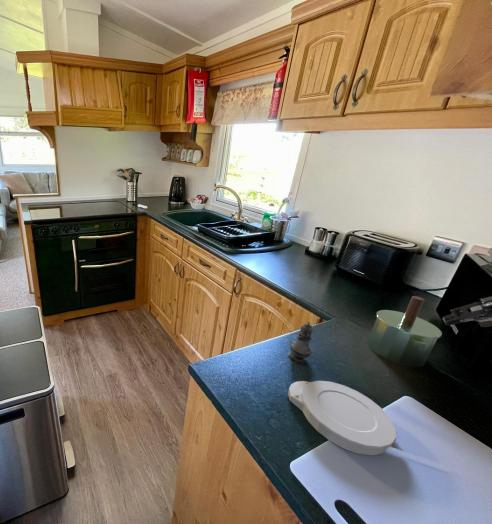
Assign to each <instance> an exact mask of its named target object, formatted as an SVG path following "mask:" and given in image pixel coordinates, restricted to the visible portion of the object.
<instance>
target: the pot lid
mask: <svg viewBox="0 0 492 524" xmlns="http://www.w3.org/2000/svg"><path fill="white" fill-rule="evenodd" d="M424 302H425V298H423V297H420V296H416V295H413V296H412V297H411V299H410V301H409V303H408V305H407V307H406V310H405V312H401V311H398V310H391V309H390V310H389V309H381V310H378V311H377V312H376V314H375V317H376V319H377V318H378V319H379V320H380V321H381V322H383V323H384V324H386V325H388V326H390V327H392V328H394V329H396V330H398V331H401V332H404V333H406V334H410V335H413V336H417V337H422V338H429V339H435V338H437V339H439V338H441V337H442V335H443V333H442V331H441V330H440V328H438V327H437V326H436V325H434V324H433V323H431V322H429V321H427V320H425V319H423V318H420V317H418V315H419V313H420V311H421V308H422V307H423V304H424Z"/></svg>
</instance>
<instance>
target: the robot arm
mask: <svg viewBox="0 0 492 524" xmlns="http://www.w3.org/2000/svg"><path fill="white" fill-rule="evenodd" d="M450 312H451V314H446V315H444V316H442V320H443V323H444V324H445V325H446V326H454V325H457V324H460V323H466V322H472V321H475V322H476V323H478V324H479V326H480V327H481V328H488V327H492V301H488V302H486V303H483V304H482V302H481V301H475V302H473V303H469V304H466V305H463V306H462V305H461V306H459V307H455V308H452V309H450Z"/></svg>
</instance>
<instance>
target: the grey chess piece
mask: <svg viewBox="0 0 492 524" xmlns="http://www.w3.org/2000/svg"><path fill="white" fill-rule="evenodd" d="M313 331H314V330H313V326H312V325H311V323H310V321H307V322H306V323H302V324H301V326H300V330H299V332H298V333H297V335H296V336H297V337H296V338H297V339H296V341H295V340H293V341H291V342H290V343H289V349H290V351H289V352H288V353H287V357H288V359H290V360H291V361H292V362H294V363H297V364H300V365H306V364H307V362H306V359H307V358H309V357H310V356H311V354H313V349H312V347H311V346H310V345H309V344H310V341H312V333H313Z"/></svg>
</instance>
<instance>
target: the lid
mask: <svg viewBox="0 0 492 524" xmlns="http://www.w3.org/2000/svg"><path fill="white" fill-rule="evenodd" d="M287 395H288V399H289V402H290V403H292V404H293V405H294V406H296V407H297V408H298V409H299V410H300V411H301V412H302V413H303V415H304V417H305V418H306V420H307V421H308V423H309V424H310V425H311V426H312V427H313V428H314V430H316V432H317V433H319V434H320V435H322V436H323V437H324V438H325V439H327V440H328V441H329V442H331V443H332V444H334V445H336V446H338V447H340V448H342V449H344V450H346V451H349V452H352V453H355V454H358V455H364V456H377V455H381V454H384V453H385V452H386V451H387V450H388V448H390V447H392V445H393V444H394V443H395V442H396V440H397V429H396V427H395V426H396V425H394V422H393V421H392V418H391V417H390V415H388V414H387V412H385V411H384V409H383V408H382V407H380V405H378V404H377V403H376V402H375V401H373V400H372V399H371V398H369V397H368V396H366V395H364V394H363V393H361V392H360V391H358V390H355V389H353V388H351V387H350V386H346V385H344V384H341V383H337V382H334V381H328V380H314V381H306V380H298V381H295V382H293V383H291V384H290V385H289V388H288V391H287Z"/></svg>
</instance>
